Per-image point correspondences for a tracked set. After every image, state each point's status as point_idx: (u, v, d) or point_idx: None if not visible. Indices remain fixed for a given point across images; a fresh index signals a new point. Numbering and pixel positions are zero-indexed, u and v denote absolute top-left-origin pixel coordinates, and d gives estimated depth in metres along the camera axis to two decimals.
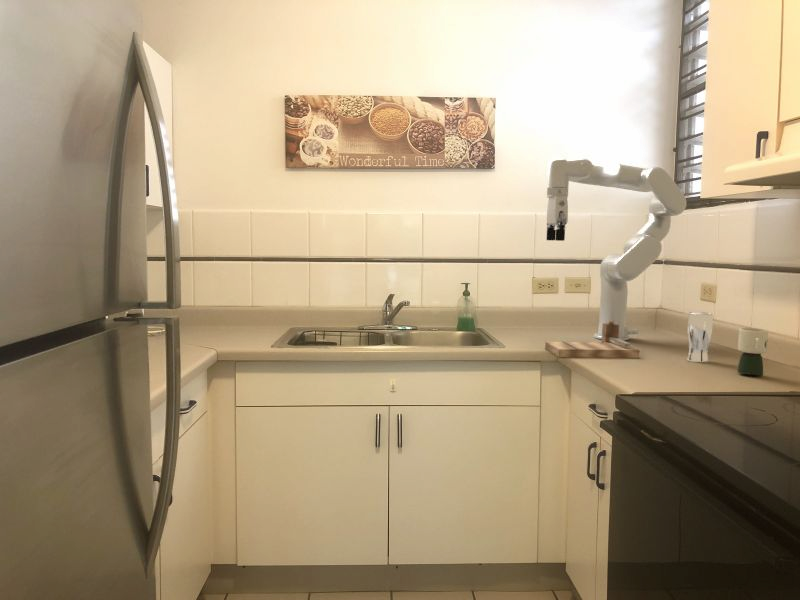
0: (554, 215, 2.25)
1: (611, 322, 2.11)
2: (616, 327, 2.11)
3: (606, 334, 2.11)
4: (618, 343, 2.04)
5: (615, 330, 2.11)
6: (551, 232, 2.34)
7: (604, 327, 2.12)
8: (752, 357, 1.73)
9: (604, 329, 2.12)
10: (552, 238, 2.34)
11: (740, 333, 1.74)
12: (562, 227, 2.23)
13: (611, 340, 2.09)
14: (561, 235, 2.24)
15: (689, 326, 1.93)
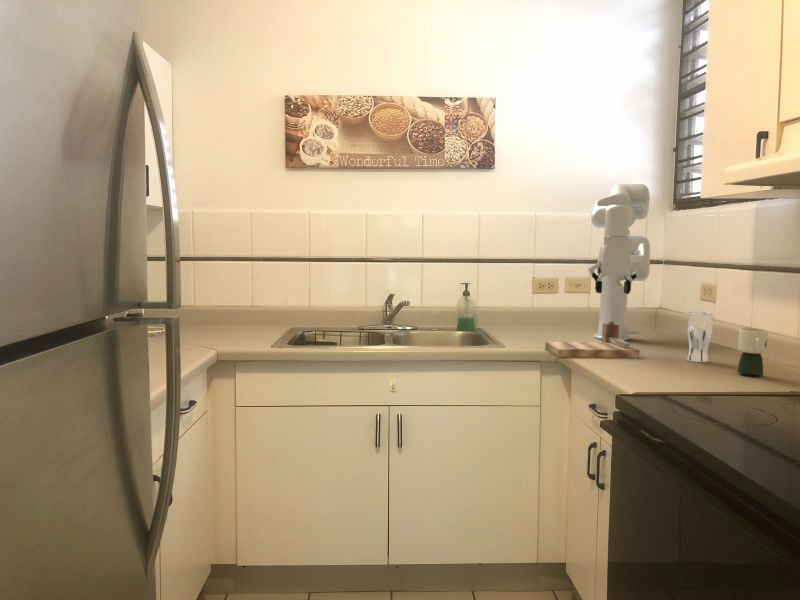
0: (628, 267, 2.08)
1: (611, 322, 2.11)
2: (616, 327, 2.11)
3: (606, 334, 2.11)
4: (618, 343, 2.04)
5: (615, 330, 2.11)
6: None
7: (604, 327, 2.12)
8: (752, 357, 1.73)
9: (604, 329, 2.12)
10: None
11: (740, 333, 1.74)
12: None
13: (611, 340, 2.09)
14: None
15: (689, 326, 1.93)
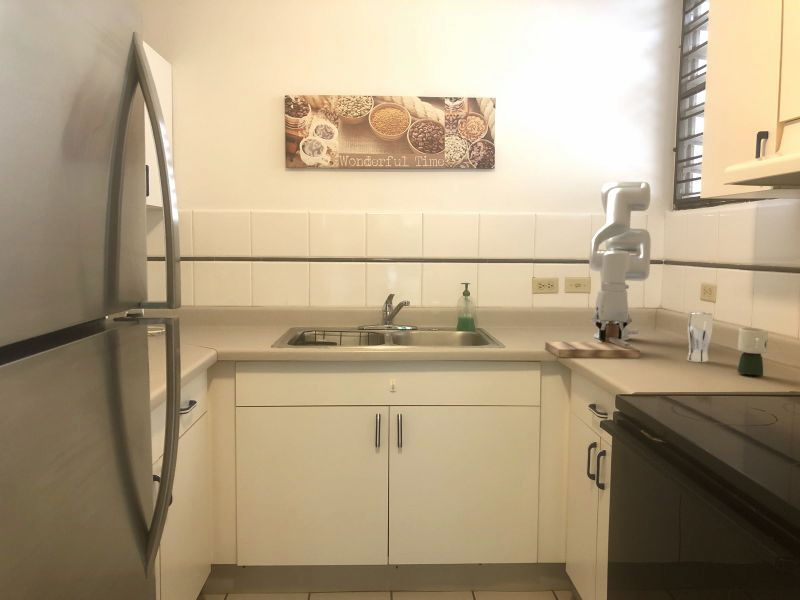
0: (625, 312, 2.10)
1: (611, 322, 2.11)
2: (616, 327, 2.11)
3: (606, 334, 2.11)
4: (618, 343, 2.04)
5: (615, 330, 2.11)
6: None
7: None
8: (752, 357, 1.73)
9: None
10: None
11: (740, 333, 1.74)
12: None
13: (611, 340, 2.09)
14: None
15: (689, 326, 1.93)
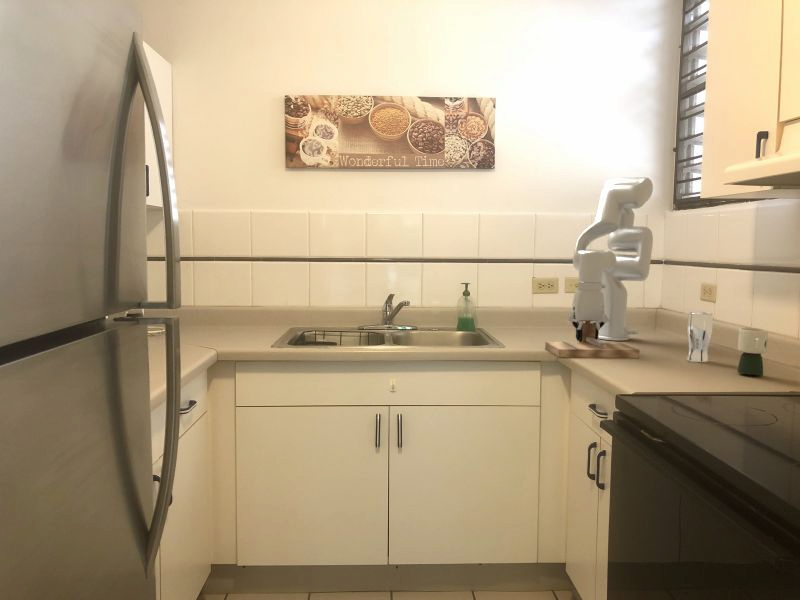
0: (602, 312, 2.09)
1: (588, 322, 2.11)
2: (593, 327, 2.10)
3: (582, 333, 2.10)
4: (594, 343, 2.03)
5: (591, 329, 2.10)
6: None
7: (581, 327, 2.11)
8: (752, 357, 1.73)
9: (581, 329, 2.11)
10: None
11: (740, 333, 1.74)
12: None
13: (587, 340, 2.09)
14: None
15: (689, 326, 1.93)
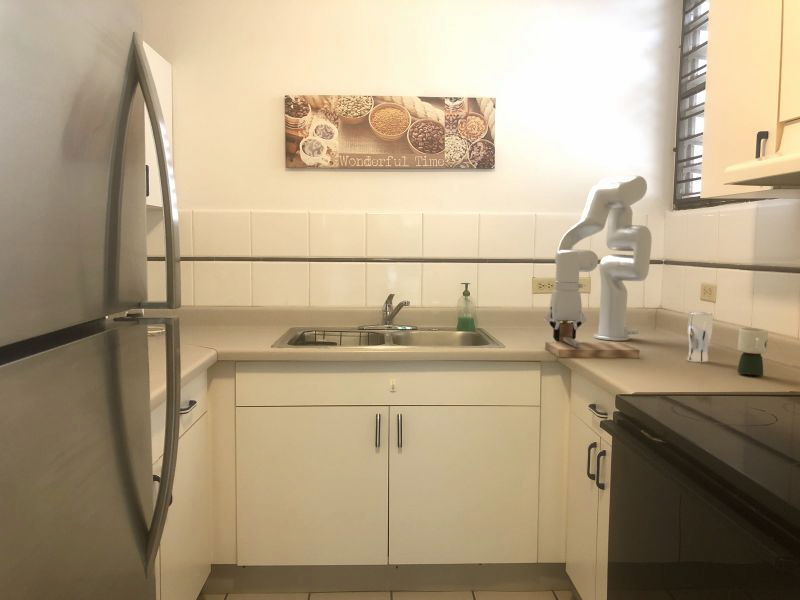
0: (579, 312, 2.09)
1: (565, 321, 2.10)
2: (570, 327, 2.10)
3: (560, 333, 2.10)
4: (570, 342, 2.03)
5: (569, 329, 2.10)
6: None
7: (558, 327, 2.10)
8: (752, 357, 1.73)
9: None
10: None
11: (740, 333, 1.74)
12: None
13: (565, 339, 2.08)
14: None
15: (689, 326, 1.93)
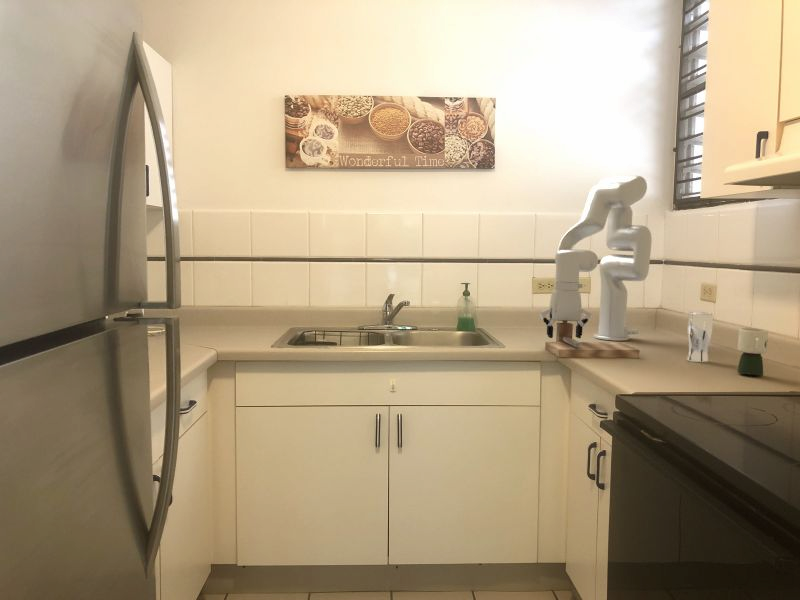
0: (579, 312, 2.09)
1: (565, 321, 2.10)
2: (570, 327, 2.10)
3: (559, 333, 2.10)
4: (570, 342, 2.03)
5: (568, 329, 2.10)
6: None
7: (558, 327, 2.10)
8: (752, 357, 1.73)
9: (558, 329, 2.11)
10: None
11: (740, 333, 1.74)
12: None
13: (564, 339, 2.08)
14: None
15: (689, 326, 1.93)
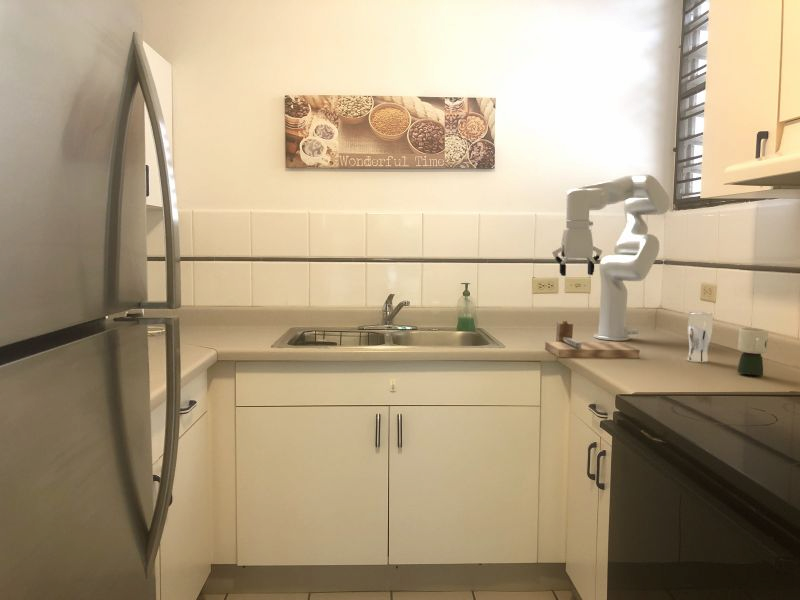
0: (590, 249, 2.14)
1: (565, 321, 2.10)
2: (570, 327, 2.10)
3: (559, 333, 2.10)
4: (570, 342, 2.03)
5: (568, 329, 2.10)
6: None
7: (558, 327, 2.10)
8: (752, 357, 1.73)
9: (558, 329, 2.11)
10: None
11: (740, 333, 1.74)
12: None
13: (564, 339, 2.08)
14: None
15: (689, 326, 1.93)
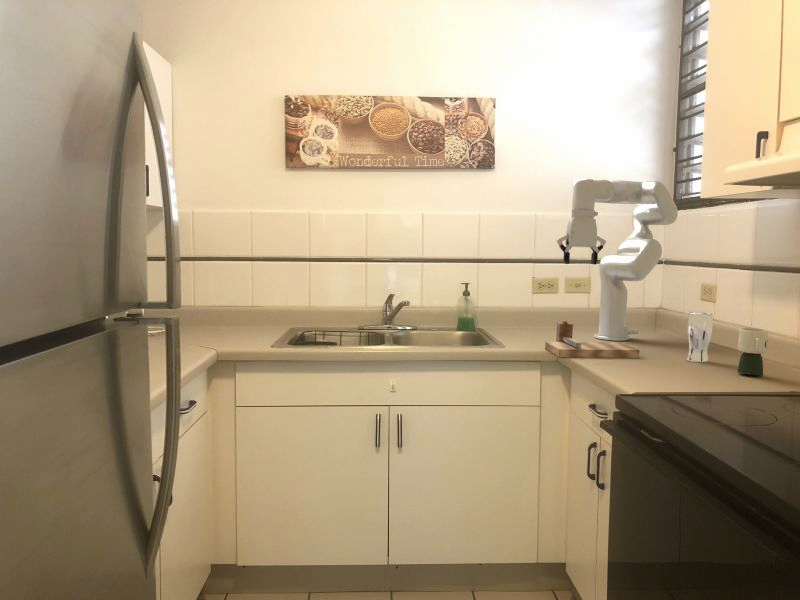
0: (594, 238, 2.17)
1: (565, 321, 2.10)
2: (570, 327, 2.10)
3: (559, 333, 2.10)
4: (570, 342, 2.03)
5: (568, 329, 2.10)
6: None
7: (558, 327, 2.10)
8: (752, 357, 1.73)
9: (558, 329, 2.11)
10: None
11: (740, 333, 1.74)
12: None
13: (564, 339, 2.08)
14: None
15: (689, 326, 1.93)
